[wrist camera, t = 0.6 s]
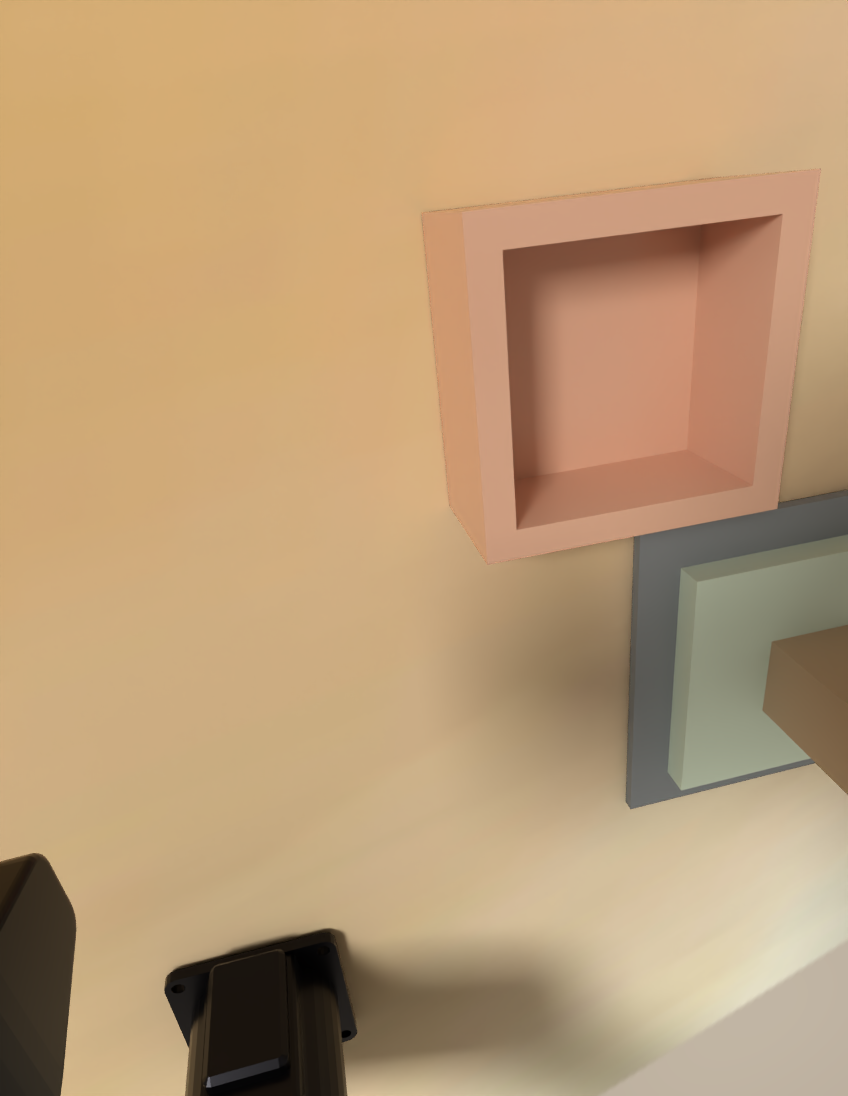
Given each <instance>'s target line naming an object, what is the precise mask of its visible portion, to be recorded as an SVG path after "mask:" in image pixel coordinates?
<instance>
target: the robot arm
mask: <svg viewBox="0 0 848 1096" xmlns="http://www.w3.org/2000/svg"><path fill="white" fill-rule="evenodd" d="M75 940H76V919H75V913H74V910H73V907H72V905H71V903H70V901H69V899H68V897H67V895H66V893H65V891H64V889H63V887H62V886H61V884H60V882H59V880H58V878H57V876H56V874H55V872H54V870H53V869H52V867H51V865H50V863H49V861H48V860H47V859H46V857H44V856H43V855H41V854H38V853H32V854H28V855H24V856H20V857H16V858H12V859H8V860H4V861H1V862H0V1096H60V1095H61V1087H62V1079H63V1069H64V1059H65V1048H66V1037H67V1026H68V1016H69V1005H70V994H71V983H72V972H73V962H74V951H75ZM164 990H165V994H166V997H167V999H168V1001H169V1004H170V1006H171V1008H172V1010H173V1013H174V1015H175V1017H176V1020H177V1022H178V1024H179V1027H180V1029H181V1031H182V1033H183V1036H184V1038H185V1040H186V1043H187V1045H188V1047H189V1057H188V1069H187V1080H186V1092H185V1096H347V1087H346V1077H345V1067H344V1057H343V1046H342V1042H345V1041H348V1040H351V1039H352V1038H354V1037H355V1035H356V1034H357V1027H356V1020H355V1016H354V1012H353V1008H352V1004H351V1000H350V996H349V992H348V988H347V984H346V980H345V975H344V971H343V967H342V963H341V959H340V955H339V951H338V947H337V943H336V939H335V937H334V935H332V934H331V933H319V934H315V935H311V936H307V937H304V938H300V939H296V940H292V941H288V942H284V943H280V944H277V945H273V946H269V947H265V948H261V949H257V950H253V951H250V952H246V953H242V954H238V955H234V956H230V957H226V958H223V959H219V960H215V961H211V962H207V963H203V964H199V965H196V966H192V967H188V968H184V969H180V970H176V971H174V972H171V973H170V974H169V975H167V977H166V980H165V988H164Z"/></svg>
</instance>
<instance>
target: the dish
mask: <svg viewBox="0 0 848 1096" xmlns="http://www.w3.org/2000/svg"><path fill="white" fill-rule="evenodd" d="M820 173H821V169H811V170H799V171H787V172H775V173H763V174H752V175H740V176H728V177H716V178H707V179H699V180H691V181H682V182H674V183H665V184H657V185H649V186H640V187H632V188H624V189H615V190H607V191H598V192H590V193H582V194H573V195H565V196H557V197H548V198H540V199H532V200H523V201H515V202H506V203H498V204H490V205H481V206H473V207H465V208H456V209H448V210H439V211H431V212H423V213H422V222H423V232H424V243H425V253H426V264H427V274H428V285H429V295H430V306H431V316H432V327H433V337H434V348H435V358H436V369H437V379H438V389H439V400H440V410H441V421H442V431H443V442H444V452H445V463H446V473H447V484H448V494H449V505H450V508H451V509H452V511H453V512H454V514H455V515H456V517H457V518H458V520H459V522H460V523H461V525H462V526H463V528H464V529H465V531H466V532H467V534H468V535H469V537H470V539H471V540H472V542H473V543H474V545H475V546H476V548H477V549H478V551H479V552H480V554H481V556H482V557H483V559H484V560H485V562H486V563H487V565H489V564H494V563H499V562H504V561H509V560H515V559H520V558H525V557H530V556H535V555H541V554H546V553H551V552H556V551H561V550H567V549H572V548H577V547H582V546H587V545H592V544H598V543H603V542H608V541H613V540H618V539H624V538H629V537H634V536H639V535H644V534H650V533H655V532H660V531H665V530H670V529H675V528H681V527H686V526H691V525H696V524H701V523H707V522H712V521H717V520H722V519H727V518H732V517H738V516H743V515H748V514H753V513H758V512H764V511H769V510H774V509H777V507H778V499H779V491H780V484H781V476H782V468H783V460H784V453H785V445H786V437H787V429H788V421H789V414H790V406H791V398H792V390H793V383H794V375H795V367H796V359H797V351H798V344H799V336H800V328H801V320H802V313H803V305H804V297H805V289H806V281H807V274H808V266H809V258H810V250H811V243H812V235H813V227H814V219H815V211H816V204H817V196H818V188H819V180H820Z"/></svg>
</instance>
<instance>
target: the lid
mask: <svg viewBox="0 0 848 1096" xmlns="http://www.w3.org/2000/svg"><path fill="white" fill-rule="evenodd" d="M810 758H811V759H812V760H813V761H814V762H815V763H816V764H817V765H818V766H819V767H820V768H821V769H822V770H823V771H824V772H825V773H826V774H827V775H828V776H829V777H830V778H831V779H832V780H833V781H834V782H835V783H836V784H837V785H838V786H839V787H840V788H841V789H842V790H843V791H844V792H846V793H847V794H848V535H843V536H838V537H833V538H828V539H823V540H819V541H814V542H809V543H804V544H799V545H794V546H789V547H784V548H779V549H774V550H769V551H764V552H759V553H754V554H749V555H744V556H739V557H734V558H729V559H724V560H719V561H714V562H709V563H704V564H699V565H694V566H689V567H684V568H681V575H680V590H679V605H678V621H677V636H676V651H675V667H674V682H673V697H672V712H671V728H670V743H669V758H668V773H669V775H670V776H671V777H672V779H673V780H674V781H675V783H676V784H677V786H678V787H679V788H680V790H685V789H689V788H694V787H698V786H702V785H706V784H710V783H714V782H718V781H722V780H726V779H730V778H734V777H738V776H742V775H746V774H750V773H754V772H758V771H762V770H766V769H770V768H774V767H778V766H782V765H786V764H790V763H794V762H798V761H802V760H806V759H810Z"/></svg>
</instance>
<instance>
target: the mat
mask: <svg viewBox="0 0 848 1096" xmlns="http://www.w3.org/2000/svg"><path fill="white" fill-rule="evenodd" d="M843 535H848V490H844V491H839V492H834V493H829V494H823V495H818V496H813V497H808V498H803V499H797V500H792V501H787V502H782V503H778V507H777V509H774V510H769V511H764V512H758V513H753V514H748V515H743V516H738V517H732V518H727V519H722V520H717V521H712V522H707V523H701V524H696V525H691V526H686V527H681V528H675V529H670V530H665V531H660V532H655V533H650V534H644V535H639V536H634V558H633V590H632V622H631V654H630V686H629V718H628V750H627V782H626V803H627V804H628V806H629V807H630V809H633V808H637V807H641V806H645V805H649V804H653V803H657V802H661V801H665V800H669V799H673V798H677V797H681V796H685V795H689V794H693V793H697V792H701V791H705V790H709V789H713V788H717V787H721V786H725V785H729V784H733V783H737V782H741V781H745V780H749V779H753V778H757V777H761V776H765V775H769V774H773V773H777V772H781V771H785V770H789V769H793V768H797V767H801V766H805V765H809V764H813V763H815V762H814V761H813V760H812V759H811V758H810V759H806V760H802V761H798V762H794V763H790V764H786V765H782V766H778V767H774V768H770V769H766V770H762V771H758V772H754V773H750V774H746V775H742V776H738V777H734V778H730V779H726V780H722V781H718V782H714V783H710V784H706V785H702V786H698V787H694V788H689V789H685V790H680V788H679V787H678V786H677V784H676V783H675V781H674V780H673V779H672V777H671V776H670V775H669V773H668V758H669V743H670V728H671V712H672V697H673V682H674V667H675V651H676V636H677V621H678V605H679V590H680V575H681V568H684V567H689V566H694V565H699V564H704V563H709V562H714V561H719V560H724V559H729V558H734V557H739V556H744V555H749V554H754V553H759V552H764V551H769V550H774V549H779V548H784V547H789V546H794V545H799V544H804V543H809V542H814V541H819V540H823V539H828V538H833V537H838V536H843Z"/></svg>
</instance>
